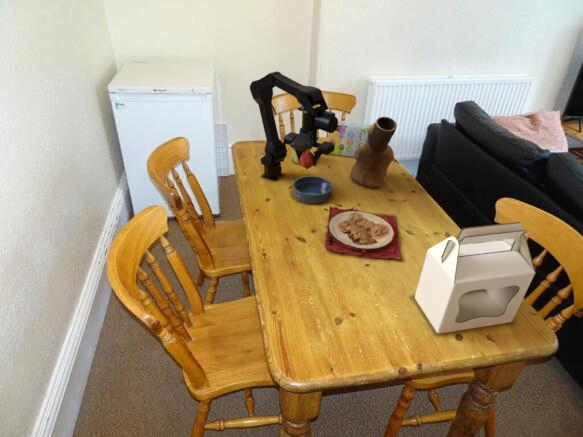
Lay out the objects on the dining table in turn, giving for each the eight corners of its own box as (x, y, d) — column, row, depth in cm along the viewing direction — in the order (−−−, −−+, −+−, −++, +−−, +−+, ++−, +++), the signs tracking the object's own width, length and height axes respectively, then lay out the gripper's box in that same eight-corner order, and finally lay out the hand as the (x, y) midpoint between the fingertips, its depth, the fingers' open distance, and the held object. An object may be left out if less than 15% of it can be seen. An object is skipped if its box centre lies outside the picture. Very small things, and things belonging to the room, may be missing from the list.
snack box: (374, 155, 192) (379, 124, 184) (373, 160, 188) (378, 129, 179) (329, 149, 196) (332, 119, 188) (328, 154, 192) (330, 123, 183)
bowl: (285, 197, 158) (285, 188, 156) (304, 181, 169) (304, 172, 167) (320, 208, 152) (321, 199, 150) (337, 191, 163) (338, 182, 161)
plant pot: (311, 166, 181) (312, 148, 176) (290, 165, 181) (290, 147, 176) (311, 157, 189) (312, 139, 184) (290, 156, 189) (291, 138, 184)
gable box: (436, 334, 104) (466, 247, 89) (413, 297, 115) (435, 214, 99) (513, 322, 109) (554, 237, 93) (483, 288, 119) (516, 206, 104)
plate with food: (324, 253, 130) (325, 245, 128) (329, 209, 151) (330, 201, 149) (400, 263, 128) (402, 254, 126) (394, 216, 149) (396, 208, 147)
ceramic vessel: (383, 171, 179) (395, 103, 162) (395, 197, 161) (410, 124, 144) (347, 171, 178) (355, 102, 161) (355, 196, 160) (365, 123, 143)
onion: (298, 165, 158) (299, 146, 154) (313, 165, 159) (314, 146, 154) (300, 172, 154) (301, 153, 149) (315, 172, 154) (317, 153, 150)
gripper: (275, 125, 144) (275, 165, 153) (323, 138, 137) (319, 179, 146) (291, 116, 152) (290, 155, 161) (337, 128, 145) (333, 167, 154)
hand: (307, 164), depth 155 cm, fingers closed on onion, 6 cm apart
